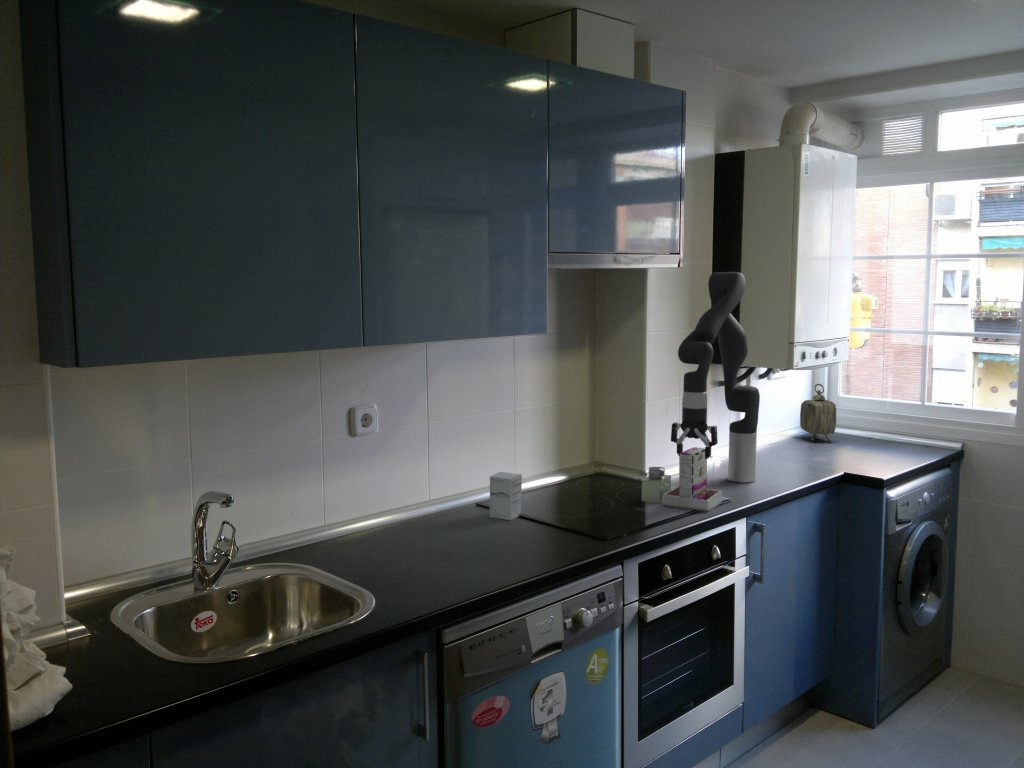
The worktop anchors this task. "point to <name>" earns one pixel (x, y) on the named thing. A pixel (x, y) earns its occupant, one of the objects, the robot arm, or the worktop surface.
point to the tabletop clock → (818, 415)
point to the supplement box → (505, 495)
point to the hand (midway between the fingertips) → (693, 457)
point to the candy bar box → (693, 473)
